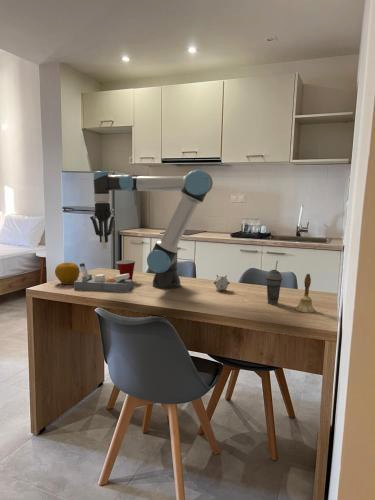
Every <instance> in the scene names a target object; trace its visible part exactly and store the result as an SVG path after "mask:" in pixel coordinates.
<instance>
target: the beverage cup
mask: <svg viewBox="0 0 375 500" xmlns="http://www.w3.org/2000/svg"><path fill="white" fill-rule="evenodd" d="M278 262H279V261H278V260H276V264H275V269H271V270H269V271H268V272H266V273H267V274H266V275H265V282H266V296H267V297H266V299H267V304H268V305H271V306H272V305H273V306H274V305H275V306H276V305H278V304H279V298H280V293H281V292H280V291H281V284H282V280H283V276H282V273H281V272H280V271H278V270H277V267H278V264H279V263H278Z"/></svg>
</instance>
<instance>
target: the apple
mask: <svg viewBox="0 0 375 500" xmlns="http://www.w3.org/2000/svg"><path fill="white" fill-rule="evenodd" d="M54 275H55V276H56V278H57V279H58V280H59V282H60V283H61V284H63V285H74V282H75V281H77V280H79V277H80V266H79V265H78V264H76V263H74V262H62V263H59V264H57V265H56V267H55V270H54Z"/></svg>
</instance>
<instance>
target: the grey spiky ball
mask: <svg viewBox="0 0 375 500" xmlns="http://www.w3.org/2000/svg"><path fill="white" fill-rule="evenodd" d="M227 277H228V276H227V274H226V275H225V276H222V275H221V276H220V275H219V276H218V275H216V279H215V281H214V282H213V285H214V286H215V288H216V291H215V292H218V291H225V292H227V289H228V286H229V285H230V284H231V282H229V280H228V278H227Z"/></svg>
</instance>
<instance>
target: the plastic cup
mask: <svg viewBox="0 0 375 500" xmlns="http://www.w3.org/2000/svg"><path fill="white" fill-rule="evenodd" d="M135 263H136V259H123V260H118V261H116V264H117V267H118V271H119V275H122V274H127V273H129V276H130V277H129V278H128V279H125V280H133V275H134V270H135Z"/></svg>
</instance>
